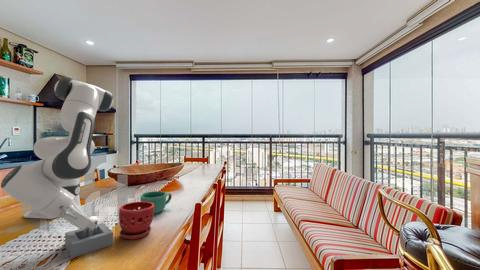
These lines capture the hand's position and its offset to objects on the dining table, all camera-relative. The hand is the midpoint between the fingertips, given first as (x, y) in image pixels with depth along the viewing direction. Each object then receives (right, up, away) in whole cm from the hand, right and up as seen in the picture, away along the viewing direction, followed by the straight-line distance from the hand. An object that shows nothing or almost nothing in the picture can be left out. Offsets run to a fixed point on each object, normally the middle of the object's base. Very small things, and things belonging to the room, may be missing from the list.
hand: (91, 224), depth 76 cm
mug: (+10, -8, +35) cm, 37 cm away
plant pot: (+12, -8, +9) cm, 17 cm away
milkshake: (-1, -7, 0) cm, 7 cm away
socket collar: (-1, -7, -1) cm, 7 cm away
